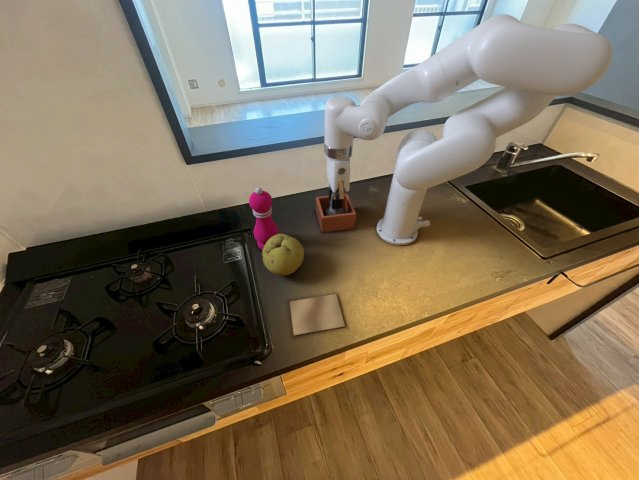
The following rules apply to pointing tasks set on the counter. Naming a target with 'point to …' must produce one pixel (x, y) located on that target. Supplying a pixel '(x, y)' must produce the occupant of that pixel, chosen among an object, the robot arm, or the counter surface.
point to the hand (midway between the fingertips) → (335, 203)
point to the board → (316, 314)
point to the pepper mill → (262, 216)
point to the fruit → (282, 254)
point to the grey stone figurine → (333, 211)
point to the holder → (335, 220)
